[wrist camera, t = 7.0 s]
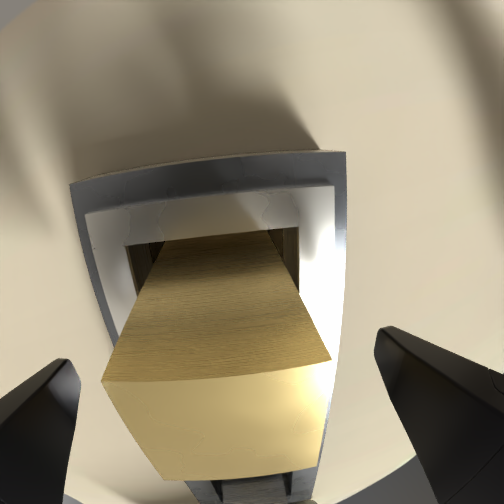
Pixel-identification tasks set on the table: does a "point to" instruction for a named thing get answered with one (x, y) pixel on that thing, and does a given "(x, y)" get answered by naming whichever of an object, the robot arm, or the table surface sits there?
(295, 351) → the brass peg
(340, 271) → the rail
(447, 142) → the table surface
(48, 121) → the table surface
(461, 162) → the table surface
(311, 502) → the digital clock
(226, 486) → the steel peg
